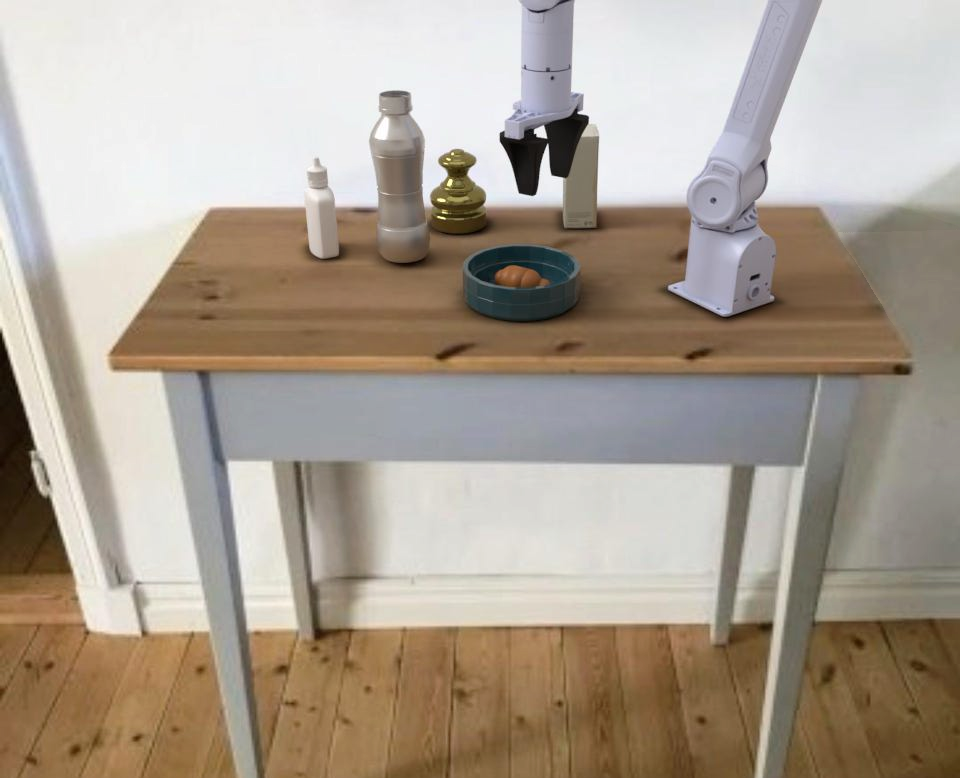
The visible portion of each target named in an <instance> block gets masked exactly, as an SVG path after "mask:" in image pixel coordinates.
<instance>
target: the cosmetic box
mask: <svg viewBox="0 0 960 778" xmlns="http://www.w3.org/2000/svg"><path fill="white" fill-rule="evenodd" d="M599 149H600V132H599V129H598V126H597V124H596V123H589V124H588V125H587V127H586V128H585V130H584V132H583V134H582V136H581V138H580V141H579V143H578V146H577V148H576V152H575V155H574V159H573V162H572V166H571V170H570V173H569V176H568V177H567V178H562V220H563V226H564V227H563V228H564V229H595V228H597V217H598V181H599V180H598V177H599V152H600V150H599Z"/></svg>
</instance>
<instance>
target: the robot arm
mask: <svg viewBox="0 0 960 778" xmlns="http://www.w3.org/2000/svg"><path fill="white" fill-rule="evenodd" d="M518 1H519V3H520V4H521V31H520V32H521V34H520V35H521V36H520V37H521V38H520V39H521V41H520V51H521V52H520V100H517V101H515V102H513V103H512V109H513V111H514V112H513V113H512V115H511V116H509V117H508V118H506V119H504V130H502V131H500V132H499V143H500V145H501V146H502V148H503V149H504V151H505V153H506V155H507V158H508V159H509V162H510V165H511V168H512V172H513V176H514V181H515V183H516V188H517V192H518V194H519V195H524V196H528V197H529V196H530V197H534V196H536V195H537V193H538V189H539V183H540V175H541V166H542V162H543V157H544V154H545V152H546V149H547V147H548V156H549V157H548V161H549V171H550V176H552V177H557V178H562V179H563V178H567V177H568V176H569V173H570V170H571V166H572V162H573V159H574V155H575V152H576V148H577V146H578V143H579V141H580V138H581V136H582V134H583V132H584V130H585V128H586V127H587V125H588V124H590V116H589V115H587V114H582V113H580V112H582V111H584V93H582V92H581V93H580V92H574V91H572V81H573V80H572V77H573V74H572V73H573V49H574V48H573V45H574V44H573V43H574V13H575V11H574V10H575V1H576V0H518ZM822 2H823V0H767V1H766V5H765V8H764V10H763V14H762V17H761V19H760V22H759V26H758V28H757V31H756V34H755V36H754V40H753V42H752V46H751V48H750V51H749V55H748V56H747V60H746V63H745V65H744V68H743V71H742V75H741V77H740V79H739V83H738V86H737V88H736V91H735V94H734V97H733V100H732V103H731V106H730V109H729V112H728V114H727V117H726V120H725V123H724V126H723V129H722V132H721V134H720V135H719V137H718V139H717V141H716V142H715V144H714V146H713V147H712V149H711V151H710V153H709V155H708V157H707V159H706V162H705V165H704V166H703V169H702V170H701V171H700V172H699V173H698V174H697V175H696V176H695V177H694V178H693V179H692V181H691V182H690V184H689V185H688V188H687V191H686V207H687V209H688V211H689V213H690V215H691V218H690V227H689V236H688V237H689V238H688V248H687V256H686V257H687V258H686V266H685V267H686V268H685V278H684V280H681V281H679V282H676V283H673V284H669V285H668V286H667V291H669V292H672V293H674V294H675V295H677V296H679V297H681V298H684V299H685V300H688V301H689V302H692V303H694V304H696V305H699V306H700V307H702V308H704V309H706V310H708V311H709V312H710V311H711V312H713V313H714V314H715V315H718V316H721V317H724V318H727V317H731V316H733V315H737V314H740V313H742V312H746V311H749V310H752V309H755V308H757V307H760V306H763V305H766V304H769V303H772V302H774V301H775V296H774V295H772V294H771V291H772V286H773V285H772V284H773V278H774V272H775V265H776V258H777V245H776V243H775V240H774V238H773V237H772V236H770V235H768V234H766V232H764V231H763V229H762V228H761V226H760V224H759V215H758V209H757V206H756V201H757V200H759V199H760V198H761V197H762V196H763V195H764V193H765V191H766V189H767V187H768V183H769V172H768V171H769V170H768V160H769V157H770V155H771V152H772V142H771V138H772V135H773V133H774V130H775V127H776V124H777V122H778V120H779V116H780V115H781V111H782V109H783V106H784V104H785V101H786V99H787V95H788V93H789V90H790V87H791V85H792V82H793V79H794V77H795V74H796V71H797V69H798V66H799V63H800V61H801V58H802V56H803V53H804V50H805V48H806V45H807V42H808V40H809V37H810V35H811V31H812V29H813V27H814V23H815V21H816V20H817V19H816V18H817V16H818V13H819V10H820V8H821V6H822ZM541 127H544V131H545V135H546V138H545V137H542V136H541V137H540V136H537V135H538V134H537V133H535V130H537V129H539V128H541Z"/></svg>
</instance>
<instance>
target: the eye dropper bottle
mask: <svg viewBox="0 0 960 778" xmlns="http://www.w3.org/2000/svg"><path fill="white" fill-rule="evenodd" d="M320 161H321V160H320V158H319V156H313V157H312V162H311V166H309V167H307V168H306V177H307V187H306V188H305V189H304V195H303V196H304V206H305V216H306V226H307V237H308V238H307V239H308V247H309V251H310V252H311V254H312V255H313V256H315V257H316V258H319V259H322V260H324V259H325V260H326V259H332V258H337V257H338V256H339V254H340V245H339V232H338V221H337V211H336V210H337V209H336V200H335V194H334V192H333V189H332V188H331V187H330V186H329V178H328V177H329V176H328V168H327V167H326V166H324V165H322V163H321V162H320Z"/></svg>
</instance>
